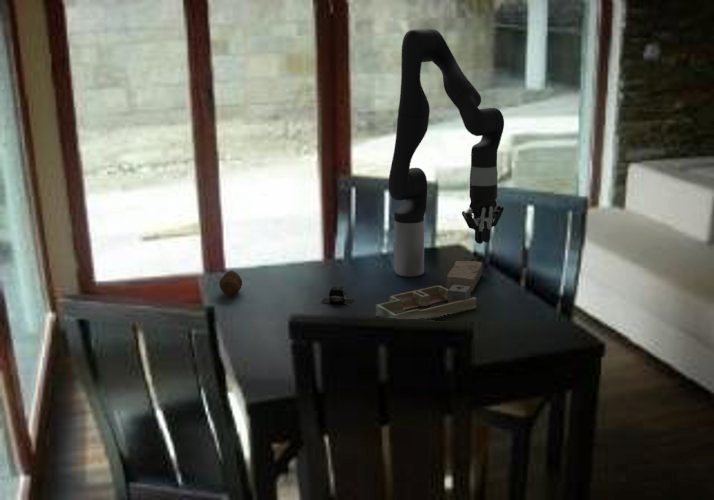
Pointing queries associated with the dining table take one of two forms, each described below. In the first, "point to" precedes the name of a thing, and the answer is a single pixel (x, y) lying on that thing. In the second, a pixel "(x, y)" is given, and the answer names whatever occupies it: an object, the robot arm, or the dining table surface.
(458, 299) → the dice cube
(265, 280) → the dining table surface
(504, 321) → the dining table surface
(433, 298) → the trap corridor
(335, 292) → the black hat
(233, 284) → the potato
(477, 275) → the brick
